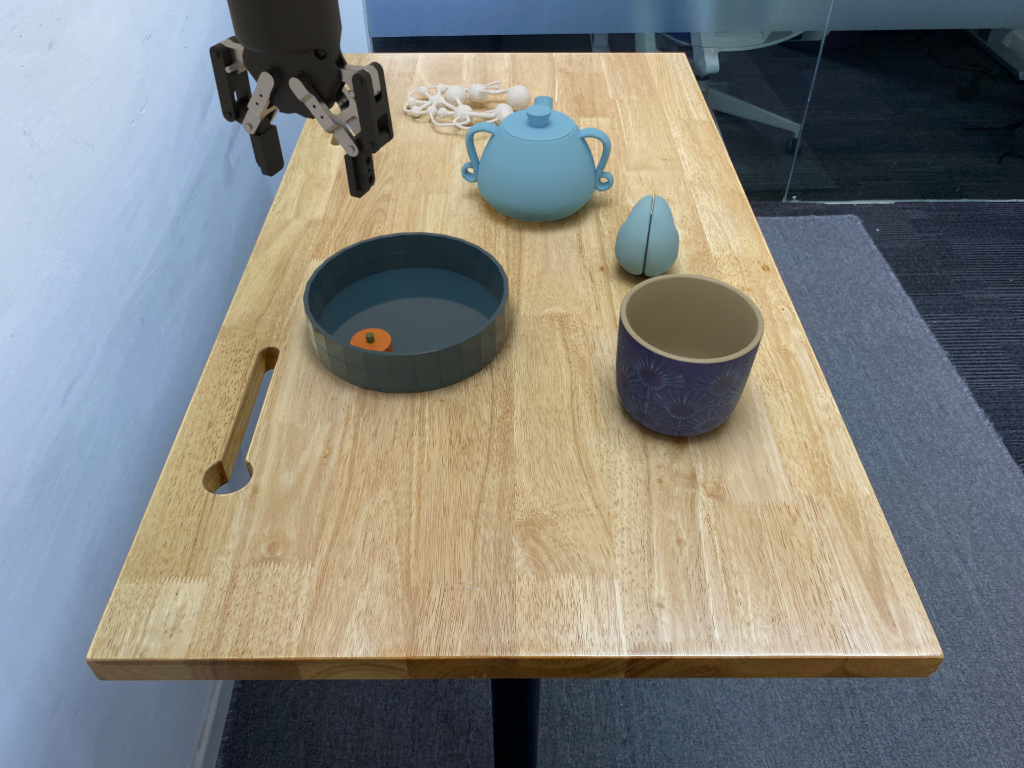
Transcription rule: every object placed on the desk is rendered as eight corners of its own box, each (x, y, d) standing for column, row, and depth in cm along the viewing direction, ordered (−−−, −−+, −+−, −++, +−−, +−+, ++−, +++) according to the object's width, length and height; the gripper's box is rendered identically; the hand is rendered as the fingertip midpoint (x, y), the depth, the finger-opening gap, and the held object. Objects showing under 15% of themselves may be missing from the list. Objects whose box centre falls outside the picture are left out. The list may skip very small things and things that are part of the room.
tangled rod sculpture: (385, 130, 119) (381, 105, 116) (427, 87, 128) (424, 63, 125) (501, 150, 113) (499, 124, 110) (536, 103, 122) (535, 78, 119)
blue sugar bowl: (452, 227, 97) (446, 132, 88) (475, 153, 111) (473, 65, 103) (609, 238, 95) (620, 142, 87) (613, 161, 110) (622, 72, 101)
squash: (368, 384, 76) (363, 353, 73) (346, 363, 78) (340, 333, 75) (402, 366, 78) (398, 335, 75) (380, 346, 80) (375, 316, 77)
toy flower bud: (687, 174, 90) (685, 221, 81) (676, 241, 96) (672, 292, 87) (626, 168, 91) (617, 214, 82) (618, 235, 97) (609, 285, 88)
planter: (704, 351, 80) (724, 264, 72) (762, 436, 71) (792, 347, 64) (591, 372, 78) (600, 284, 70) (637, 463, 69) (652, 373, 61)
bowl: (385, 425, 72) (379, 387, 69) (275, 318, 84) (265, 281, 80) (548, 331, 82) (550, 293, 79) (431, 247, 94) (427, 211, 90)
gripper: (156, -32, 52) (217, 185, 63) (336, -4, 48) (368, 223, 59) (227, -59, 57) (273, 147, 68) (396, -36, 53) (415, 179, 64)
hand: (317, 182), depth 64 cm, fingers open, 8 cm apart
